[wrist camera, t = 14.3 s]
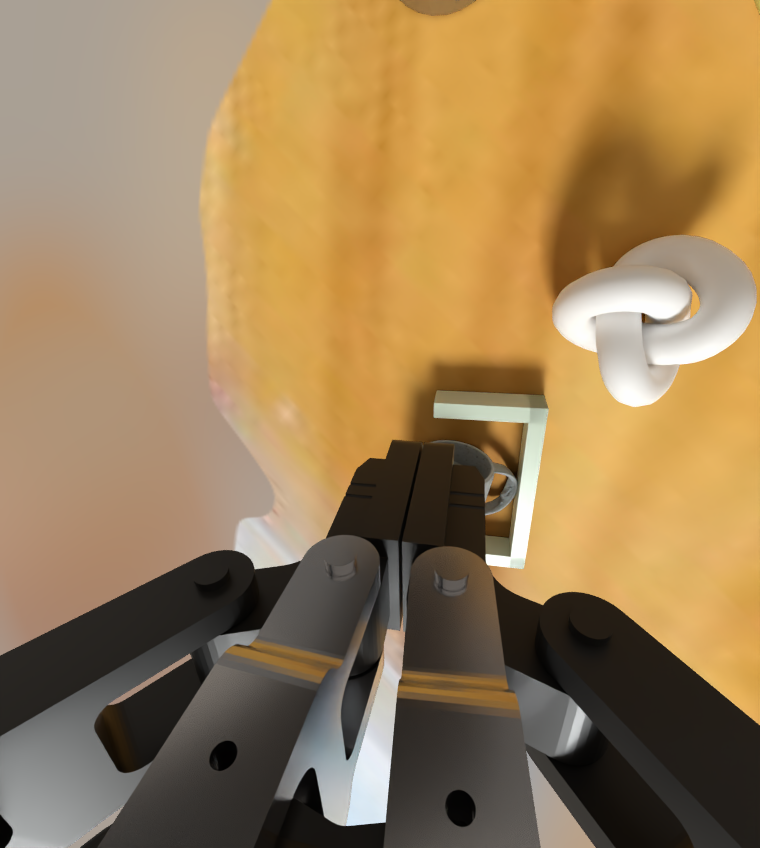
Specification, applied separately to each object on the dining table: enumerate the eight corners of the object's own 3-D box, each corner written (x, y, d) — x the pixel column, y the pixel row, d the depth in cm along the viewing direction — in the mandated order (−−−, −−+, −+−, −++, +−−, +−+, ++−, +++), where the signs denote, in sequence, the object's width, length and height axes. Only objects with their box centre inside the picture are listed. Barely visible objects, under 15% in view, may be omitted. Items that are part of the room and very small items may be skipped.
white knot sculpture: (523, 353, 40) (534, 393, 32) (578, 209, 34) (607, 215, 26) (650, 385, 39) (692, 434, 32) (728, 243, 33) (804, 259, 26)
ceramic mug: (411, 497, 50) (402, 544, 43) (419, 434, 46) (410, 475, 39) (507, 513, 49) (513, 564, 42) (523, 449, 45) (533, 495, 38)
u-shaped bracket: (432, 539, 52) (430, 558, 50) (436, 390, 43) (433, 403, 41) (521, 549, 50) (523, 569, 48) (544, 395, 41) (548, 408, 39)
